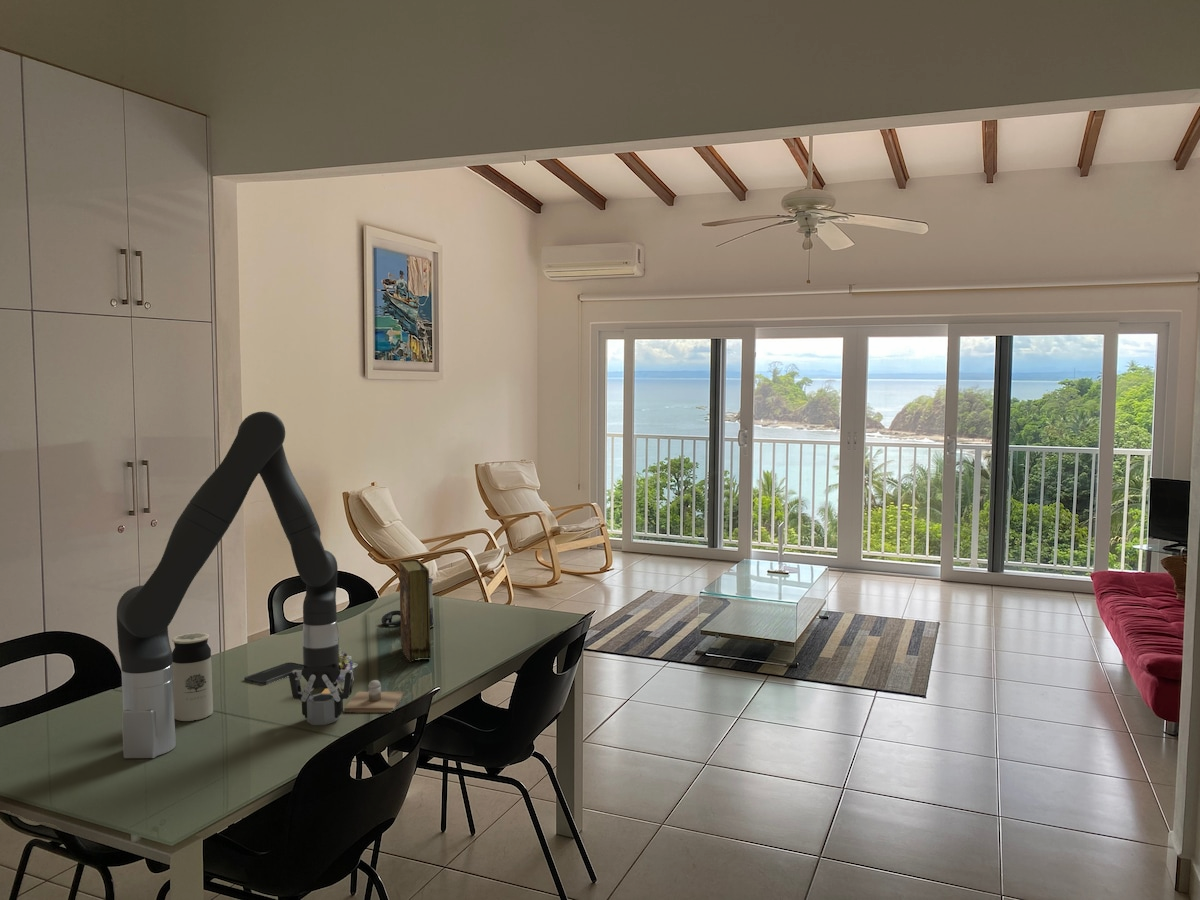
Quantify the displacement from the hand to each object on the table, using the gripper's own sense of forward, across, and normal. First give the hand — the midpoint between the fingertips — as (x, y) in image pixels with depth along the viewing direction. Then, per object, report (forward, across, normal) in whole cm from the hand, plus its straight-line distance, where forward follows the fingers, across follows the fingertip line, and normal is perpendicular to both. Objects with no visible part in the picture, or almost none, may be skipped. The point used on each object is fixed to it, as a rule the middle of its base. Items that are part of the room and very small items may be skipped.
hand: (322, 716), depth 196 cm
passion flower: (+1, -5, +23) cm, 24 cm away
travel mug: (+1, -30, +3) cm, 30 cm away
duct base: (+1, +9, +10) cm, 13 cm away
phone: (+1, -22, +32) cm, 39 cm away
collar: (+1, 0, +2) cm, 2 cm away
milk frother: (+1, +2, +79) cm, 79 cm away
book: (+1, +10, +49) cm, 50 cm away
